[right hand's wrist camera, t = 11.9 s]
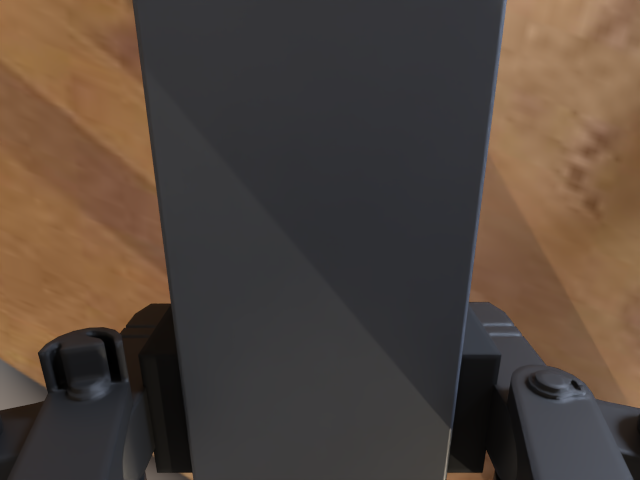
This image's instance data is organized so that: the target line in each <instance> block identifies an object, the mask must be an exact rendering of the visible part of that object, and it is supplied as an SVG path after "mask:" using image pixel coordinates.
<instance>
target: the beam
mask: <svg viewBox="0 0 640 480" xmlns="http://www.w3.org/2000/svg"><path fill="white" fill-rule="evenodd" d="M506 2H507V0H133V8H134V16H135V24H136V31H137V39H138V47H139V55H140V63H141V71H142V79H143V87H144V94H145V102H146V110H147V118H148V126H149V134H150V142H151V150H152V157H153V165H154V173H155V181H156V189H157V197H158V205H159V213H160V220H161V228H162V236H163V244H164V252H165V260H166V268H167V276H168V283H169V291H170V299H171V307H172V315H173V323H174V331H175V338H176V346H177V354H178V362H179V370H180V378H181V386H182V394H183V401H184V409H185V417H186V425H187V433H188V441H189V449H190V457H191V464H192V472H193V480H446V477H447V469H448V461H449V454H450V446H451V438H452V430H453V422H454V414H455V406H456V398H457V390H458V382H459V374H460V366H461V359H462V351H463V343H464V335H465V327H466V319H467V311H468V303H469V295H470V287H471V279H472V271H473V264H474V256H475V248H476V240H477V232H478V224H479V216H480V208H481V200H482V192H483V184H484V177H485V169H486V161H487V153H488V145H489V137H490V129H491V121H492V113H493V105H494V97H495V89H496V82H497V74H498V66H499V58H500V50H501V42H502V34H503V26H504V18H505V10H506Z"/></svg>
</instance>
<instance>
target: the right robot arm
mask: <svg viewBox="0 0 640 480" xmlns="http://www.w3.org/2000/svg"><path fill="white" fill-rule="evenodd" d="M38 355H39V359H40V363H41V367H42V371H43V375H44V379H45V383H46V387H47V391H48V395H47V397H46V399H45V401H42V402H38V403H35V404H30V405H25V406H20V407H15V408H10V409H5V410H1V411H0V480H147V479H146V473H145V470H146V467H147V465H148V463H149V461H150V458H151V456H152V454H153V452H154V456H155V462H156V468H157V472H158V473H193V472H192V464H191V457H190V449H189V441H188V433H187V425H186V417H185V409H184V401H183V394H182V386H181V378H180V370H179V362H178V354H177V346H176V338H175V331H174V323H173V315H172V307H171V304H150V305H148V306H147V307H145V308H144V309H142V310H140V311H139V312H137V313H136V314H135V315H134V316H133V317H132V319H131V320H130V321H129V322H128V324H127V325H126V328H124V329H123V330H122V331H121V333H118V332H117V331H116V330H113V329H109V328H104V327H98V328H86V329H81V330H76V331H72V332H70V333H67V334H64V335H62V336H59V337H57V338H55V339H54V340H52V341H51V342H49V343H47V344H46V345H45V346H44V347H43V348H42V349H41V350H40V351H39V352H38ZM486 450H487V452H488V455H489V457H490V459H491V461H492V464H493V466H494V468H495V473H494V479H493V480H640V408H635V407H630V406H625V405H620V404H615V403H610V402H605V401H602V400H598V399H595V398H594V396H593V394H592V392H591V391H590V390H589V388H588V387H587V386H586V384H585V383H584V382H582V381H581V380H579V379H578V378H576V377H575V376H574V375H572V374H570V373H567V372H565V371H563V370H560V369H558V368H554V367H550V366H546V364H545V363H544V362H543V361H542V359H541V358H540V357H539V355H538V354H537V353H536V352H535V350H534V349H533V348H532V347H531V345H530V344H529V343H528V341H527V340H526V339H525V338H524V336H522V334H521V332H520V331H519V330H518V329H517V327H516V326H514V324H513V322H512V321H511V320H510V318H509V317H508V316H507V315H506V313H505V312H503V311H502V310H500V309H499V308H497V307H495V306H494V305H492V304H491V303H489V302H469V303H468V311H467V319H466V327H465V335H464V343H463V351H462V359H461V366H460V374H459V382H458V390H457V398H456V406H455V414H454V422H453V430H452V438H451V446H450V454H449V461H448V469H447V473H482V472H483V466H484V460H485V454H486Z"/></svg>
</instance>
